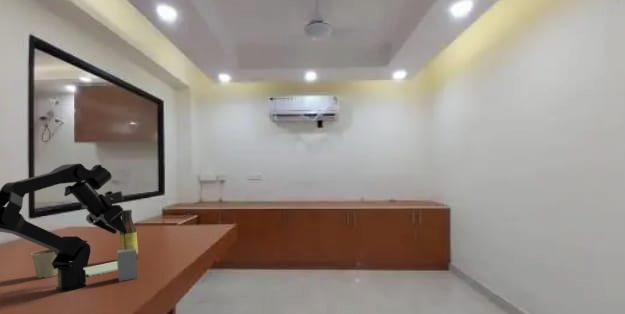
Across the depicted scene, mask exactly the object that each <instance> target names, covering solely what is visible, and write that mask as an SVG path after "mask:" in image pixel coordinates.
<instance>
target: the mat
mask: <svg viewBox="0 0 625 314" xmlns="http://www.w3.org/2000/svg"><path fill="white" fill-rule="evenodd" d="M83 268H84V270H85V273H86V276H87V275H88V276H87V277H93V276H92V275H95V276H98V275H97V274H99V275H103V273H104V274H107V273H113V272H118V268H117V260H115V261H112V262H111V261H110V262H107V263H101V264H97V265H92V266H85V267H83Z"/></svg>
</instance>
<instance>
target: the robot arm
mask: <svg viewBox="0 0 625 314" xmlns="http://www.w3.org/2000/svg"><path fill="white" fill-rule="evenodd" d="M111 180H112V174H111V172H110V171H109V170H108V169H107V168H104V167H103V165H102V164H95V165H93V167H92V168H91V169H88V168H86V167H85V166H84V165H83V164H82V163H70V164H69V163H67V164H63V165H60V166H57V167H56V168H54V169H52V171H49V172H47V173H44V174H40V175H36V176H32V177H29V178H25V179H20V180H17V181H14V182H12V181H11V182H6V183H5V184H3V186H2V187H1V188H0V233H7V234H12V235H14V236H16V237H19V238H21V239H24V240H27V241H29V242H32V243H34V244H36V245H38V246H40V247H43V248H45V249H47V250H48V249H50V250H53V251H54V253H55V254H56V258H55V259H54V260H53V262H52V266H53V268H54V269H58V274H57V284H58V285H57V286H55V287H56V289H57V290H59V291H61V292H68V291H72V290H76V289H80V288H83V287H87V284H86V282H87V280H86V279H87V277H86V276H87V275H86V273H85V270H84V268H86V267H88V265H89V259H90V255H91V249H92V248H91V245H90V244H89V243H88V240H83V239H82V238H81V237H79V236H73V235H72V236H71V235H70V236H68V235H67V236H65V235H64V236H63V235H62V237H61V236H60V235H58V234H56V233H53V232H51V231H49V230H46V229H45V228H43V227H40V226H38V225H35V224H34V223H31V222H29V221H27V220H26V219H25V217H24V216H23V215H22V213H20V212H21V211H22V208H23V203H24V197H25V196H26V195H27V194H31V193H34V192H37V191H40V190H43V189H46V188H51V187H53V186H57V185H60V184H72V185H68V186H66V187H64V195H63V196H64V197H67V196H69V195H72V196H74V198H75V199H76V200H77V201H78V202H79V203H80V204H81V208H82V209H85V210H86V211H87V212H88V214H87V215H86V218H85V220H86V221H87V223H88V224H90V225H92V226H95V227H98V228H99V229H101V230H103V231H106V232H108V233H111V234H113V235H115V234H117V233H118V232H119V233H120V232H121V233H123V234H125V233H127V230H126V228H125V226H124V224H123V221H122V213H123V210H124V208H123V207H122V206H121V205H120V204H114V203H117V202H122V201H124V200H125V198H124V196H123V192H122V191H121V190H120V191H119V190H118V191H116V192H112V191H111V190H109V191H106V192H104V194H103V193H98V190H100V189H101V188H102V187H103V186H105V185H106V184H107V183H108V182H109V181H111Z"/></svg>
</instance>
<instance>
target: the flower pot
mask: <svg viewBox="0 0 625 314" xmlns="http://www.w3.org/2000/svg"><path fill="white" fill-rule="evenodd" d="M29 256H31V258H32V260H33V265H34V270H35V274H36V278H37V279H43V278H45V279H47V278H52V277H55V276H58V269H54V268H53V266H52V262H53V260H54V259H55V258H56V254H55V253H54V251H53V250H50V249H48V248H47V249H42V250H38V251H33V252H31V253H30V254H29Z"/></svg>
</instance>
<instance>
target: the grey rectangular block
mask: <svg viewBox="0 0 625 314" xmlns="http://www.w3.org/2000/svg"><path fill="white" fill-rule="evenodd" d="M137 260H138V258H137V257H136V250H135V248H132V249H124V250H121V249H119V250H118V249H117V250H116V261H117V268H118V270H117V279H118V282H125V281H130V279H131V280H136V279H138V264H137V263H138V261H137ZM124 280H125V281H124Z"/></svg>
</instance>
